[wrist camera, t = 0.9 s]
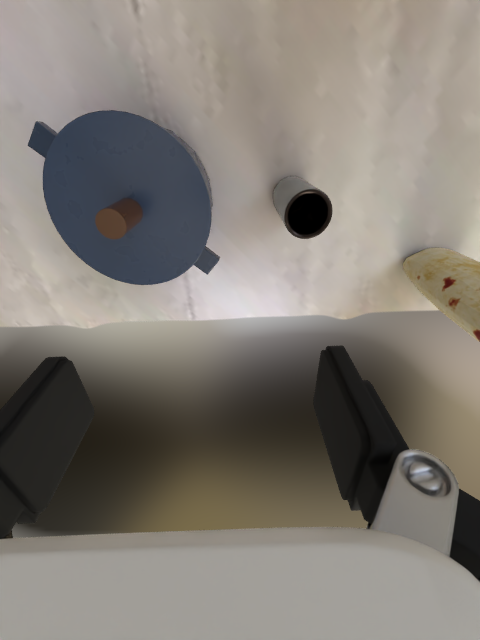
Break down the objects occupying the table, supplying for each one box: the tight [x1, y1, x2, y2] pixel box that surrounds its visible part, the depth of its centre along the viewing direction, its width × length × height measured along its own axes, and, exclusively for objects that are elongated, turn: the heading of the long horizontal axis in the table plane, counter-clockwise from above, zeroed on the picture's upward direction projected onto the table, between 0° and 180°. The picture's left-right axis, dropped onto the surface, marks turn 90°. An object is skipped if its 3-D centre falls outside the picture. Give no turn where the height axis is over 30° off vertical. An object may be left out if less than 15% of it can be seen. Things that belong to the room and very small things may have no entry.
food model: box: [403, 248, 480, 342], centre depth 32 cm, size 10×7×20 cm
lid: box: [43, 110, 212, 285], centre depth 26 cm, size 16×16×6 cm
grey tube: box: [273, 176, 332, 239], centre depth 31 cm, size 4×4×10 cm
